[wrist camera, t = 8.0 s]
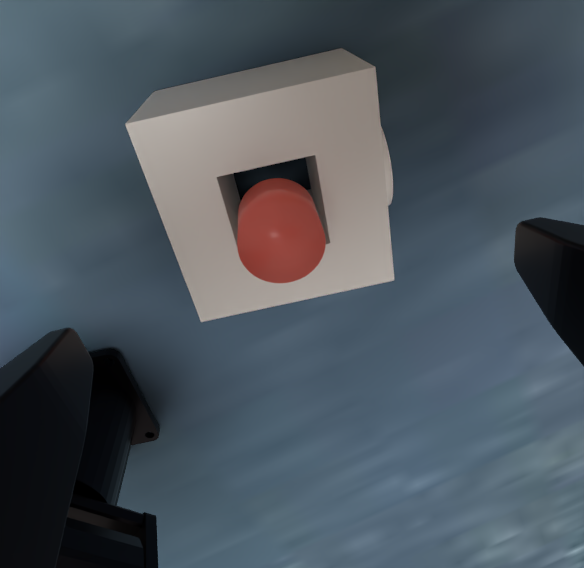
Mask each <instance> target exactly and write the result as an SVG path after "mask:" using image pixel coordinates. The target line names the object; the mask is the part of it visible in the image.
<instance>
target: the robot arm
mask: <svg viewBox="0 0 584 568" xmlns="http://www.w3.org/2000/svg"><path fill="white" fill-rule="evenodd" d="M514 263H515V267H516V269H517V271H518V273H519V275H520V276H521V278H522V279H523V281H524V283H525V284H526V286H527V287H528V289H529V291H530V292H531V294H532V296H533V297H534V299H535V300H536V302H537V304H538V305H539V307H540V308H541V310H542V312H543V313H544V315H545V316H546V318H547V319H548V321H549V322H550V324H551V325H552V327H553V328H554V330H555V331H556V332H557V334H558V335H559V336H560V337H561V339H562V340H563V341H564V342H565V344H566V345H567V346H568V347H569V349H570V350H571V351H572V352H573V354H574V355H575V356H576V357H577V359H578V360H579V361H580V362H581V364H582V365H583V366H584V225H579V224H574V223H569V222H563V221H558V220H552V219H547V218H541V217H539V218H534V219H530V220H525V221H522V222H520V223H519V224H518V225H517V227H516V233H515V250H514ZM108 358H110V359H113V360H114V361H110V360H108ZM159 432H160V428H159V426H158V424H157V422H156V420H155V418H154V416H153V414H152V412H151V410H150V409H149V407H148V405H147V403H146V401H145V399H144V397H143V395H142V394H141V392H140V390H139V388H138V386H137V384H136V382H135V380H134V378H133V377H132V375H131V373H130V371H129V369H128V367H127V365H126V363H125V361H124V360H123V358H122V356H121V354H120V353H119V352H118V351H116V350H112V349H107V350H102V351H98V352H93V353H88V351H87V349H86V348H85V346H84V344H83V343H82V341H81V339H80V337H79V336H78V334H77V333H76V331H75V330H74V329H71V328H64V329H60V330H55V331H52V332H49V333H48V334H46V335H45V336H44V337H42V338H41V339H40V340H38V341H37V342H36V343H34V344H33V345H32V346H30V347H29V348H28V349H26V350H25V351H24V352H22V353H21V354H19V355H18V356H17V357H15V358H14V359H13V360H11V361H10V362H9V363H7V364H6V365H5V366H3V367H2V368H1V369H0V568H158V551H157V524H156V516H155V515H152V514H149V513H145V512H144V513H143V514H141V513H138V512H135V511H131V510H128V509H125V508H122V507H119V506H117V502H118V497H119V493H120V489H121V485H122V481H123V477H124V473H125V469H126V464H127V460H128V456H129V452H130V448H131V445H135V444H140V443H145V442H149V441H154V440H156V439H157V438H158V437H159Z"/></svg>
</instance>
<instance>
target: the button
mask: <svg viewBox="0 0 584 568" xmlns="http://www.w3.org/2000/svg"><path fill="white" fill-rule="evenodd" d="M325 245H326V240H325V234H324V230H323V227H322V224H321V222H320V219H319V216H318V213H317V210H316V207H315V204H314V202H313V199H312V197H311V196H310V194H309V193H308V191H307V190H306V189H305V188H304V187H302V186H301V185H300V184H298V183H296V182H294V181H291V180H288V179H284V178H272V179H267V180H263V181H261V182H259V183H257V184H255V185H254V186H253V187H251V188H250V189H249V190H248V191H247V192H246V193H245V195H244V196H243V198H242V200H241V202H240V205H239V208H238V232H237V248H238V254H239V257H240V260H241V262H242V264H243V265H244V266H245V268H246V269H247V270H248V271H249V272H250V273H251V274H253V275H254V276H255V277H257V278H259V279H261V280H264V281H267V282H271V283H289V282H293V281H296V280H299V279H301V278H303V277H305V276H307V275H308V274H309V273H311V272H312V271H313V270H314V269H315V268H316V267H317V266H318V264H319V263H320V261H321V259H322V257H323V254H324V251H325Z"/></svg>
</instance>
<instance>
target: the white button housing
mask: <svg viewBox="0 0 584 568" xmlns="http://www.w3.org/2000/svg"><path fill="white" fill-rule="evenodd" d="M125 125H126V128H127V130H128V133H129V136H130V138H131V141H132V144H133V146H134V149H135V151H136V154H137V157H138V159H139V162H140V164H141V167H142V170H143V172H144V175H145V177H146V180H147V183H148V185H149V188H150V190H151V193H152V196H153V198H154V201H155V203H156V206H157V209H158V211H159V214H160V216H161V219H162V222H163V224H164V227H165V229H166V232H167V235H168V237H169V240H170V242H171V245H172V248H173V250H174V253H175V255H176V258H177V261H178V263H179V266H180V268H181V271H182V274H183V276H184V279H185V281H186V284H187V287H188V289H189V292H190V294H191V297H192V300H193V302H194V305H195V308H196V310H197V313H198V315H199V318H200V321H201V322H204V321H209V320H213V319H218V318H223V317H227V316H232V315H236V314H241V313H246V312H250V311H255V310H260V309H264V308H269V307H274V306H278V305H283V304H287V303H292V302H297V301H301V300H306V299H311V298H315V297H320V296H324V295H329V294H334V293H338V292H343V291H348V290H352V289H357V288H362V287H366V286H371V285H375V284H380V283H385V282H389V281H394V269H393V258H392V247H391V236H390V224H389V213H388V205H390V204H391V202H392V198H393V176H392V167H391V160H390V155H389V150H388V146H387V142H386V138H385V135H384V132H383V130H382V127H381V123H380V112H379V101H378V90H377V78H376V67H375V66H373V65H371V64H369V63H368V62H366V61H364V60H362V59H360V58H359V57H357V56H355V55H353V54H351V53H350V52H348V51H346V50H344V49H342V48H340V49H335V50H331V51H327V52H322V53H318V54H314V55H309V56H305V57H301V58H296V59H292V60H288V61H283V62H279V63H275V64H270V65H266V66H262V67H257V68H253V69H249V70H244V71H240V72H235V73H231V74H227V75H222V76H218V77H214V78H209V79H205V80H201V81H196V82H192V83H188V84H183V85H179V86H175V87H170V88H166V89H162V90H157V91H154V92H153V93H152V94H151V95H150V96H149V97H148V99H147V100H146V101H145V102H144V103H143V104H142V105H141V107H140V108H139V109H138V110H137V111H136V112H135V113H134V115H133V116H132V117H131V118H130V119H129V120H128V121H127V122H126V124H125ZM304 157H305V158H306V164H307V169H308V175H309V180H310V185H311V189H309V190H307V191H308V193H309V194H310V196H311V197H312V199H313V202H314V204H315V207H316V210H317V213H318V216H319V219H320V222H321V224H322V227H323V230H324V234H325V240H326V245H325V251H324V254H323V257H322V259H321V261H320V263H319V264H318V266H317V267H316V268H315V269H314V270H313V271H312V272H311V273H309V274H308V275H307V276H305V277H303V278H301V279H299V280H296V281H293V282H289V283H271V282H267V281H264V280H261V279H259V278H257V277H255V276H254V275H253V274H251V273H250V272H249V271H248V270H247V269H246V268H245V266H244V265H243V264H242V262H241V260H240V257H239V254H238V248H237V232H238V208H239V205H240V202H241V200H240V197H239V193H238V189H237V186H236V182H235V178H234V175H233V173H237V172H241V171H246V170H250V169H255V168H259V167H264V166H268V165H273V164H277V163H282V162H286V161H290V160H295V159H299V158H304Z"/></svg>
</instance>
